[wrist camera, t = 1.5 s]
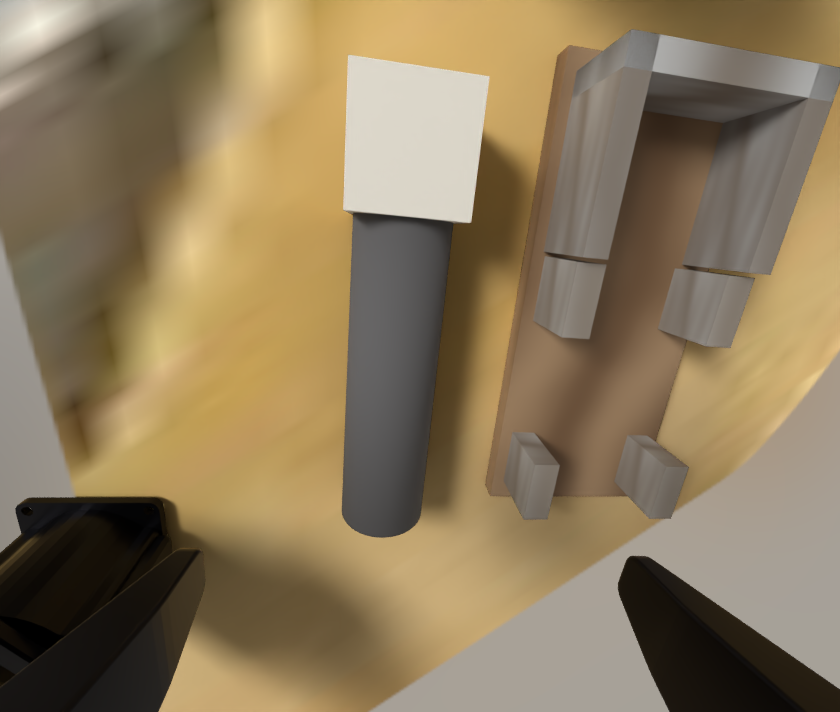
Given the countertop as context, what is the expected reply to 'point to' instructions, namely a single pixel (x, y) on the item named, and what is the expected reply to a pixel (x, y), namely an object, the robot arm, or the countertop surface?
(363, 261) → the gray rod with block
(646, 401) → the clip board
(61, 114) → the countertop surface
